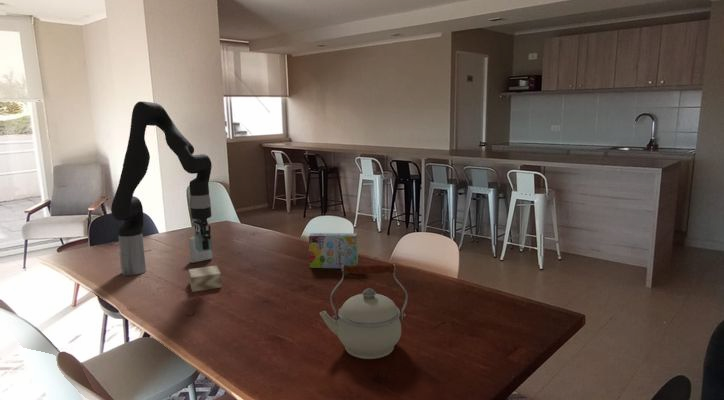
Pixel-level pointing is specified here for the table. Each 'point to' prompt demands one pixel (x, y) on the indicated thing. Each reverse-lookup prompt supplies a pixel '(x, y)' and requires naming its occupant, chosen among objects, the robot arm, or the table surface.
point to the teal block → (199, 242)
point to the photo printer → (195, 254)
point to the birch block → (205, 278)
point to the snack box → (333, 250)
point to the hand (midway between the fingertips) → (203, 247)
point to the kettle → (367, 318)
